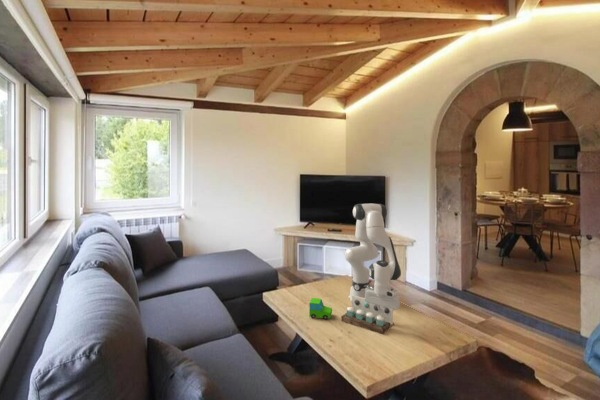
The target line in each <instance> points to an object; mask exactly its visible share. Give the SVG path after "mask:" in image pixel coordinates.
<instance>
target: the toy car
mask: <svg viewBox="0 0 600 400" xmlns="http://www.w3.org/2000/svg"><path fill="white" fill-rule="evenodd" d="M308 315H309V318H312V319H313V320H314V319H316V318H319V319H320V318H321V319H323V320H326V321H327V320H328V319H331V317H332V315H333V308H332V307H330V306H327V305H326V306H325V305H324V302H323V299H322V298H319V297H318V298H317V297H311V299H310V301H309V314H308Z"/></svg>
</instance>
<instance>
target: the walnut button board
mask: <svg viewBox="0 0 600 400" xmlns="http://www.w3.org/2000/svg"><path fill="white" fill-rule="evenodd" d="M340 320H341V322H342V323H346V324H349V325H352V326H355V327H358V328H360V329H364V330H366V331H367V330H368V331H371V332H374V333H378V334H381V335H384V334H385V333H386V332H387V331H389V330H390V328H391V327H390V323H389V322H385V325H383V326H379V325H376V319H375V321H374V322H373V323H370V322H366V316H365V318H364V319H363V320H360V319H356V313H355V315H354V316H353V317H350V316H347V312H346V313H344V314H343V315H341V317H340Z"/></svg>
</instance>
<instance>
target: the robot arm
mask: <svg viewBox="0 0 600 400" xmlns="http://www.w3.org/2000/svg"><path fill="white" fill-rule="evenodd" d="M387 212H388V209H387V207H386V206H385V204H382V203H357V204H354V206H353V209H352V216H353V218H354V219H355V220H356V222H355V234H354V237H355V239H356V240H357V241H359V243H360V245H356V246H351V247H349V248H347V249H346V250H345V251H344V258H345V260H346V261H347V262H348V263H349V264H350V266H351V268H352V279H351V280H352V281H351V284H352V286H350V291H349V295H348V296H347V297H348V299H349V300H350V302H352V295H353V296H357V297H361V298H365V302H367V303H371V304H375V305H377V308H378V310H379V313H382V314H384V313H385V309H386V308H391V309H393V310H396V311H397V310H398V309H399V308H400V305H401V304H400V302H401V301H400V296H399V290H398V289H395V288H394V287H392V286H391V283H390V281H397V280H398V279H400V277H401V275H402V274H401V273H402V269H401V267H400V265H399V261H398V258H397V254H396V250H395V246H394V243H393V240H392V237H390V235H388V234H387V232H386V230H385V229H386V228H385V221H384V220H385V218H387ZM375 244H377V245H378V246H382V247H383V248H385V250H386V252H387V256H388V259H389V262H388V261H386V260H381V259H380V260H377V261H376V262H375V263H374V262H373V263H371V264H370V265H369V266H368V267H366V266H365V264H364V262H368V261H372V260H375V259H376V258H377V257H378V255H379V251H378V247H377V246H376V245H375ZM370 278H371V279H370ZM372 280H374V282H373V281H372ZM372 282H373V286H371V283H372ZM380 306H383V308H384V309H381V308H380Z"/></svg>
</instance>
